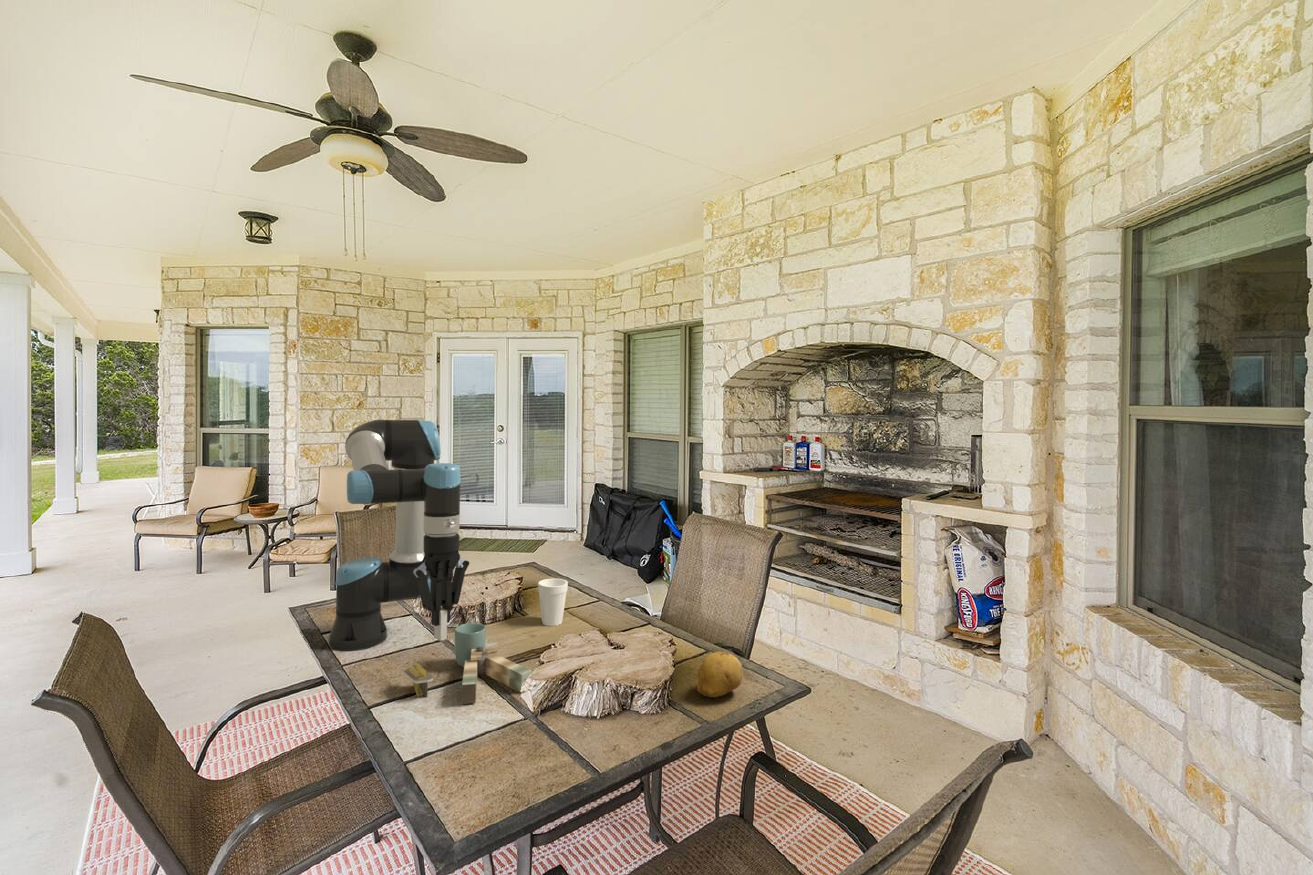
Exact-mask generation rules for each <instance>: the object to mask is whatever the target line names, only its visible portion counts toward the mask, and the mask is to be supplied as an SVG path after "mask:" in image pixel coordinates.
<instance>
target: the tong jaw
mask: <svg viewBox="0 0 1313 875" xmlns="http://www.w3.org/2000/svg"><path fill="white" fill-rule="evenodd" d="M483 649H484V648H483V647H477V648H476V649H472V650H471V660H465V665H464V667H463V675H462V681H461V682H462V683H461V684H462V685H461V705H469V704H475V703H476V701H477V700H476V699H477V698H476V697H477V685H478V684H477V683H478V676H477V660H481V659H482V651H483Z"/></svg>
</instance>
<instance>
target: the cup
mask: <svg viewBox="0 0 1313 875" xmlns="http://www.w3.org/2000/svg"><path fill="white" fill-rule="evenodd" d="M486 630H487V628H486V626H485V624H483V623H478V622H468V623H462V624H460V625H457V626H456V627H455V629H454V656H455V661H456V663H457V664H458V666H460V667H462V668H464V665H465V660H471V650H472V649H476V648H477V647H483V648H484V649H483V651H484V652H486V638H487V637H486V636H487V634H486V632H487V631H486Z"/></svg>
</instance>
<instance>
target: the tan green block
mask: <svg viewBox="0 0 1313 875" xmlns="http://www.w3.org/2000/svg"><path fill="white" fill-rule="evenodd" d="M531 673H532V674H533V670H531V669H529V668H526V667H525V666H522V665H521V664H518V663H516V662H513V661H512V660H509V659H507V658H505V657H503V656H502V655H500V654H499V655H498V654H497V653H491V654H489V653H488V652H486V651H485V652H484V651H482V659H481V660H477V677H480V676H485V675H486V676H488V677H490V678H492V679H494V680H496V681H497V682H500V683H501V684H503V685H506V686H507V687H509V688H511V689H513V690H514V691H516V692H518V693H520V690H521V686H522V683H523V682H524V681H525V679H526V678H527V677H528V676H529V675H530V674H531Z"/></svg>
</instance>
